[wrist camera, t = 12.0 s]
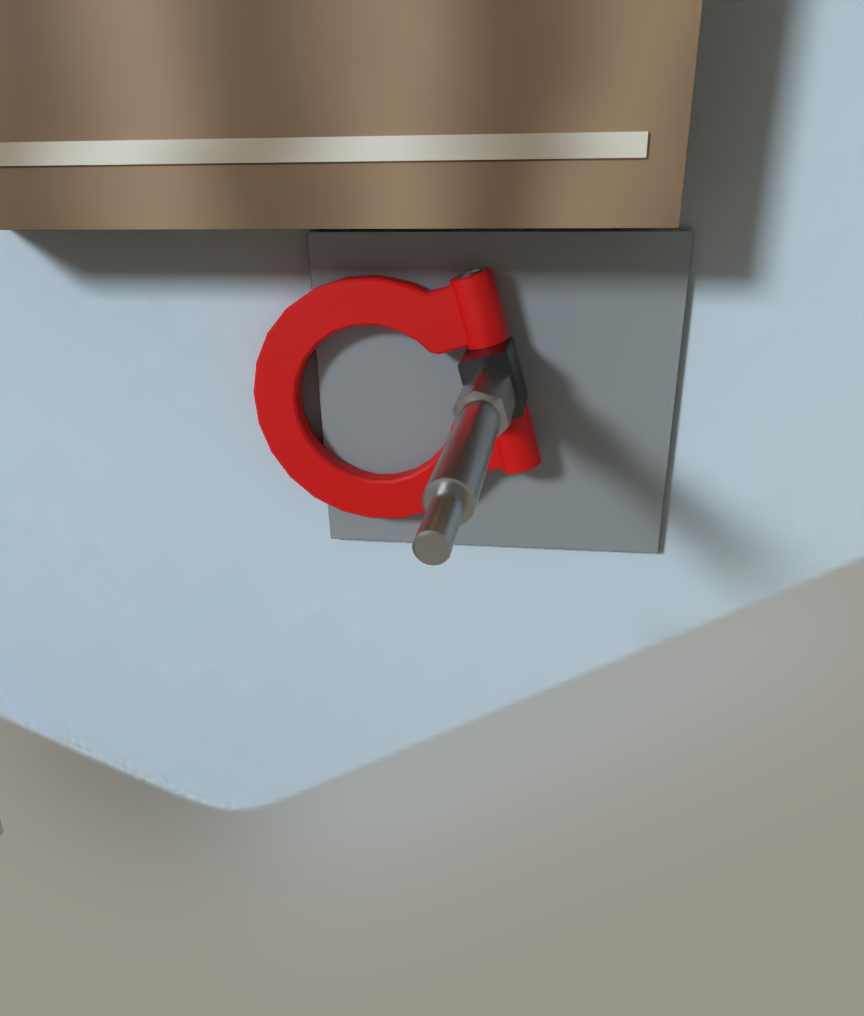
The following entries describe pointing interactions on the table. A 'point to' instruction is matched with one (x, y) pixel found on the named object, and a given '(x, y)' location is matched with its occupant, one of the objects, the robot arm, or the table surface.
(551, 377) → the mat
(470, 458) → the tow hook
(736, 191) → the table surface
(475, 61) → the walnut board
